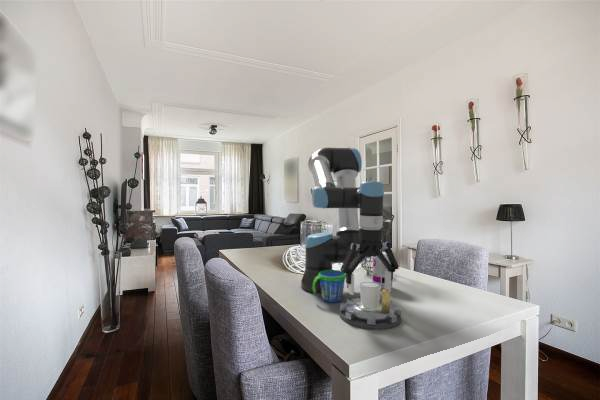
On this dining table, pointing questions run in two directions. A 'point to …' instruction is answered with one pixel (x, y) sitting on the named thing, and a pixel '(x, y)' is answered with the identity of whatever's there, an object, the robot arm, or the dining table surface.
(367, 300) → the shot glass
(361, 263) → the geometric lantern
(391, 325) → the sprocket base
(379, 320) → the sprocket
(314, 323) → the dining table surface
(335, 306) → the dining table surface
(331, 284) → the snack cup
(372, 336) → the dining table surface
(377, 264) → the supplement can
